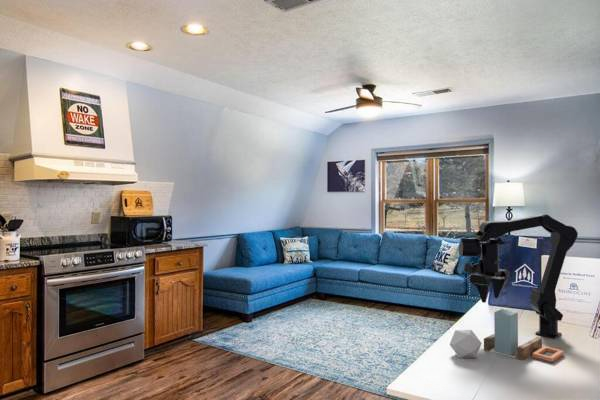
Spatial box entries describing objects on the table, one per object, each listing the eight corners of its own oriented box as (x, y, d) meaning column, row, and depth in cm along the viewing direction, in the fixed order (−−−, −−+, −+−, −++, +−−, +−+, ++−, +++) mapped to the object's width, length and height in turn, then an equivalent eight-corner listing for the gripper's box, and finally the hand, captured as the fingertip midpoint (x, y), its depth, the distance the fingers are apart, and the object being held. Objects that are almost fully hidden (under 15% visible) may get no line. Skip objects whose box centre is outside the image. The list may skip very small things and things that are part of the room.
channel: (504, 339, 146) (504, 329, 146) (542, 348, 137) (542, 337, 137) (483, 349, 137) (483, 338, 137) (522, 360, 128) (522, 348, 128)
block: (502, 347, 138) (501, 309, 138) (518, 351, 134) (517, 312, 134) (494, 351, 135) (494, 312, 134) (510, 355, 131) (510, 315, 131)
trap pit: (544, 350, 135) (544, 346, 135) (563, 355, 131) (563, 350, 131) (532, 358, 130) (532, 353, 130) (552, 363, 125) (552, 358, 125)
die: (477, 365, 126) (489, 336, 129) (450, 350, 127) (463, 321, 130) (467, 365, 134) (478, 337, 136) (442, 350, 135) (454, 323, 138)
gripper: (481, 252, 164) (481, 292, 164) (455, 257, 152) (455, 300, 152) (510, 255, 156) (510, 297, 156) (485, 260, 144) (485, 306, 144)
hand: (490, 300), depth 152 cm, fingers open, 9 cm apart
